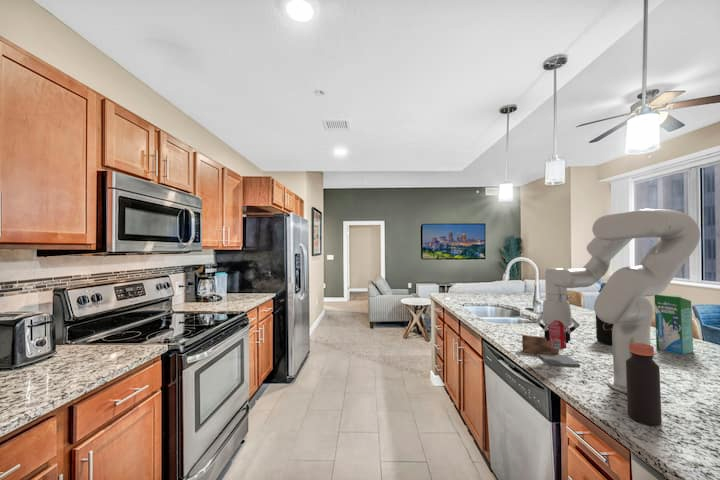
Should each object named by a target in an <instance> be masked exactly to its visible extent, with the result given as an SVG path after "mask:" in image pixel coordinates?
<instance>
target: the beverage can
mask: <svg viewBox="0 0 720 480" xmlns="http://www.w3.org/2000/svg"><path fill="white" fill-rule="evenodd" d="M548 332H549V341H548V345H549V346H550V347H551V348H553V349H558V350H559V351H561V350H564V349H566V348H567V343H566V328H565V326H564V324H563V323H562V322H560V320H554V321H553V322H551V324H550V325H549V327H548Z"/></svg>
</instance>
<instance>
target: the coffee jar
mask: <svg viewBox="0 0 720 480" xmlns="http://www.w3.org/2000/svg"><path fill="white" fill-rule="evenodd" d="M613 325H614V324H611V323H606V322H604V321H602V320H601V319H599V318H598V316H597V315H596V314H595V329H596V330H595V332H596V334H595V336H596V340H597V342H598V343H600V344H603V345H607V346H612V347H613V345H612V330H613Z"/></svg>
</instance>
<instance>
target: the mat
mask: <svg viewBox="0 0 720 480" xmlns="http://www.w3.org/2000/svg"><path fill="white" fill-rule="evenodd" d="M537 356H538V357H539V358H540V359H541V360H542V361H543V362H545V363H546V364H547V365H548V366H549V367H569V368H571V367H573V368H574V367H575V368H580V367H581V364H580V363H579V362H577V361H575V360H574V359H573V358H571V357H570V356H569V355H567V354H559V355H552V354H537Z"/></svg>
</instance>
